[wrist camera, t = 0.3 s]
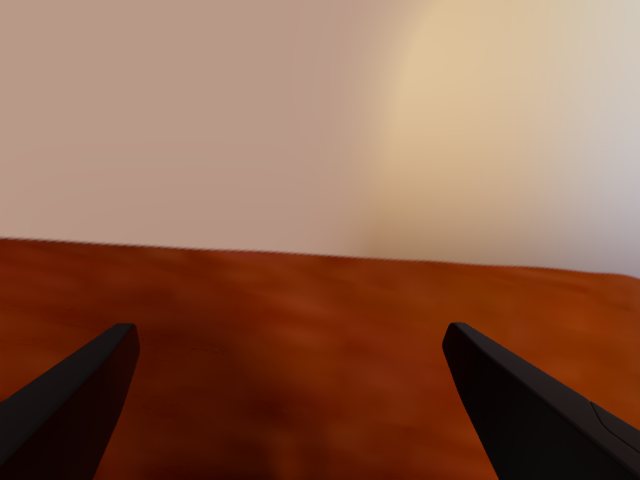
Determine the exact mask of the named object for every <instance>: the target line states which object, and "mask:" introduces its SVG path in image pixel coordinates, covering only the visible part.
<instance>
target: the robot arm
mask: <svg viewBox="0 0 640 480" xmlns="http://www.w3.org/2000/svg"><path fill="white" fill-rule="evenodd" d="M442 348H443V352H444V355H445V358H446V360H447V363H448V366H449V369H450V371H451V374H452V377H453V380H454V382H455V385H456V388H457V391H458V393H459V396H460V398H461V400H462V403H463V405H464V407H465V409H466V411H467V413H468V415H469V417H470V420H471V422H472V424H473V426H474V428H475V430H476V432H477V434H478V436H479V439H480V441H481V443H482V445H483V447H484V449H485V451H486V453H487V455H488V458H489V460H490V462H491V464H492V466H493V468H494V470H495V472H496V474H497V477H498V479H499V480H640V430H638V429H636V428H634V427H633V426H631V425H629V424H628V423H626V422H624V421H623V420H621V419H619V418H618V417H616V416H614V415H613V414H611V413H609V412H608V411H606V410H605V409H603V408H601V407H600V406H598V405H597V404H595V403H593V402H592V401H589V400H588V399H587V398H585V397H584V396H582V395H580V394H579V393H577V392H576V391H574V390H572V389H571V388H569V387H567V386H566V385H564V384H563V383H561V382H559V381H558V380H556V379H555V378H553V377H551V376H550V375H548V374H546V373H545V372H543V371H542V370H540V369H538V368H537V367H535V366H534V365H532V364H530V363H529V362H527V361H525V360H524V359H522V358H521V357H519V356H517V355H516V354H514V353H513V352H511V351H509V350H508V349H506V348H504V347H503V346H501V345H500V344H498V343H496V342H495V341H493V340H492V339H490V338H488V337H487V336H485V335H483V334H482V333H480V332H479V331H477V330H475V329H474V328H472V327H471V326H469V325H467V324H466V323H463V322H453V323H450V324H449V326H448V329H447V331H446V334H445V337H444V339H443V343H442ZM139 353H140V345H139V339H138V333H137V328H136V325H135V324H133V323H118V324H115V325H114V326H112V327H111V328H109V329H108V330H106V331H105V332H104V333H102V334H101V335H99V336H98V337H96V338H95V339H93V340H92V341H90V342H89V343H87V344H86V345H85V346H83V347H82V348H80V349H79V350H77V351H76V352H74V353H73V354H71V355H70V356H68V357H67V358H66V359H64V360H63V361H61V362H60V363H58V364H57V365H55V366H54V367H52V368H51V369H49V370H48V371H47V372H45V373H44V374H42V375H41V376H39V377H38V378H36V379H35V380H33V381H32V382H30V383H29V384H28V385H26V386H25V387H23V388H22V389H20V390H19V391H17V392H16V393H14V394H13V395H11V396H10V397H9V398H7V399H6V400H4V401H3V402H1V403H0V480H92V479H93V477H94V475H95V472H96V470H97V468H98V465H99V463H100V461H101V458H102V456H103V454H104V452H105V449H106V447H107V445H108V442H109V440H110V438H111V435H112V433H113V431H114V428H115V426H116V424H117V421H118V419H119V416H120V414H121V411H122V408H123V405H124V402H125V399H126V396H127V393H128V389H129V386H130V383H131V380H132V376H133V373H134V370H135V367H136V363H137V360H138V357H139Z"/></svg>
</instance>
